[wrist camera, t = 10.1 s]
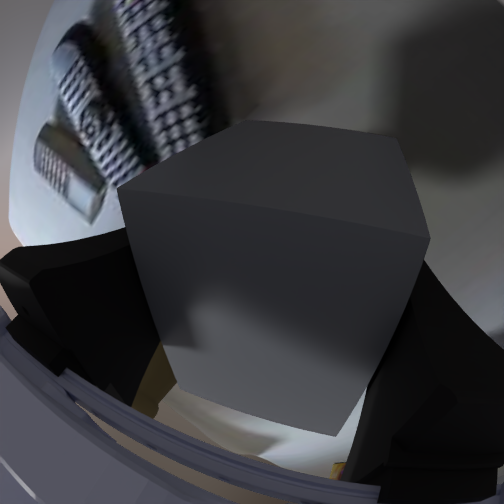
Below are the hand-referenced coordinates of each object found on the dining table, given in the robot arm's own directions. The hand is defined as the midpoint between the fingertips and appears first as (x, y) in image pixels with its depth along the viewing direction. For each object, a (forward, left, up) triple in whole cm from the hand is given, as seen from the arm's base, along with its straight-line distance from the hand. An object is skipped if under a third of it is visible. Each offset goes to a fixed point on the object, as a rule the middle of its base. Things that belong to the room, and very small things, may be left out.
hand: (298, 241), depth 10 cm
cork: (+18, +29, -11) cm, 36 cm away
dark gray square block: (0, 0, -3) cm, 3 cm away
